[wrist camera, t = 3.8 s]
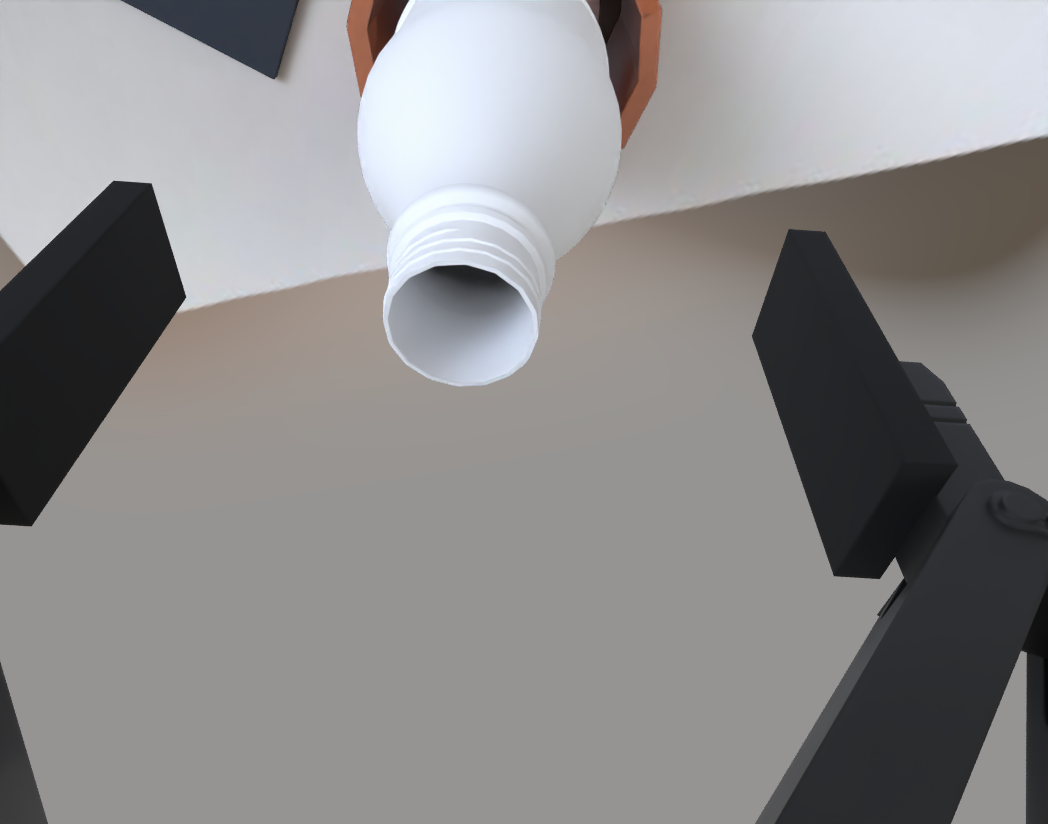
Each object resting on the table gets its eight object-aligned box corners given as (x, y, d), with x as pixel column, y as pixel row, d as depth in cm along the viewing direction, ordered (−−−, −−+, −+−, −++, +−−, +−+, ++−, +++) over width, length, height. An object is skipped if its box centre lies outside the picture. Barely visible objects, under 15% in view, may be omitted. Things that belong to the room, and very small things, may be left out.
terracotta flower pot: (340, -20, 32) (284, 42, 25) (528, -244, 27) (520, -240, 20) (505, 160, 37) (494, 250, 30) (688, 3, 32) (723, 70, 25)
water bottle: (408, 25, 33) (224, 378, 15) (478, -147, 28) (343, 47, 10) (544, 105, 35) (532, 498, 17) (628, -44, 31) (736, 268, 12)
